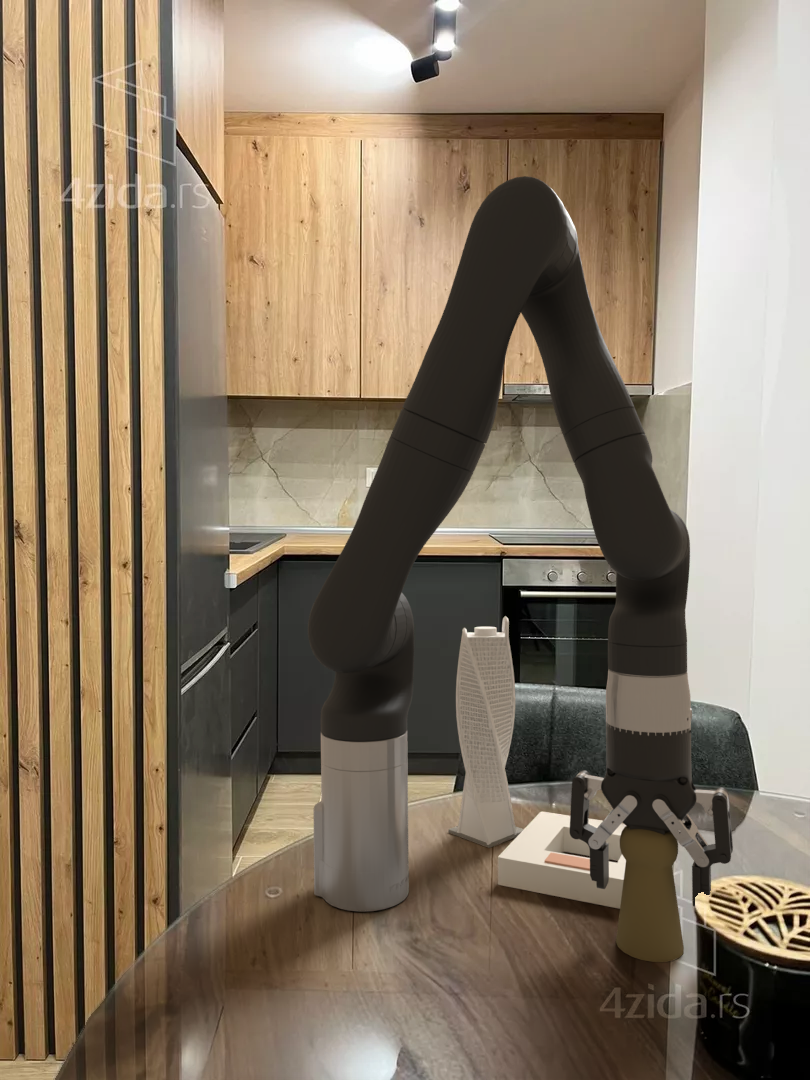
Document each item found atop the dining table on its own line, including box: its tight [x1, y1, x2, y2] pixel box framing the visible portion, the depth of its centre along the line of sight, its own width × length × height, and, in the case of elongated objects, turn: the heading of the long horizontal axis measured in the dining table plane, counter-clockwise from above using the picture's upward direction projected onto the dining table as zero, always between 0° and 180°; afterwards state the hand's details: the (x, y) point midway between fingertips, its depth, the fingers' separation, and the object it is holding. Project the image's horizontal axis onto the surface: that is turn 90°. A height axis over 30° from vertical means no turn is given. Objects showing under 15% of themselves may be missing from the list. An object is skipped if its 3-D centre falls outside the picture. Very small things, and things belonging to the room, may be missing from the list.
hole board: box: [497, 811, 626, 910], centre depth 90 cm, size 16×16×3 cm
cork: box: [615, 826, 685, 963], centre depth 74 cm, size 6×6×11 cm
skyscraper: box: [448, 615, 525, 849], centre depth 101 cm, size 8×8×28 cm
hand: (649, 894), depth 74 cm, fingers open, 8 cm apart
